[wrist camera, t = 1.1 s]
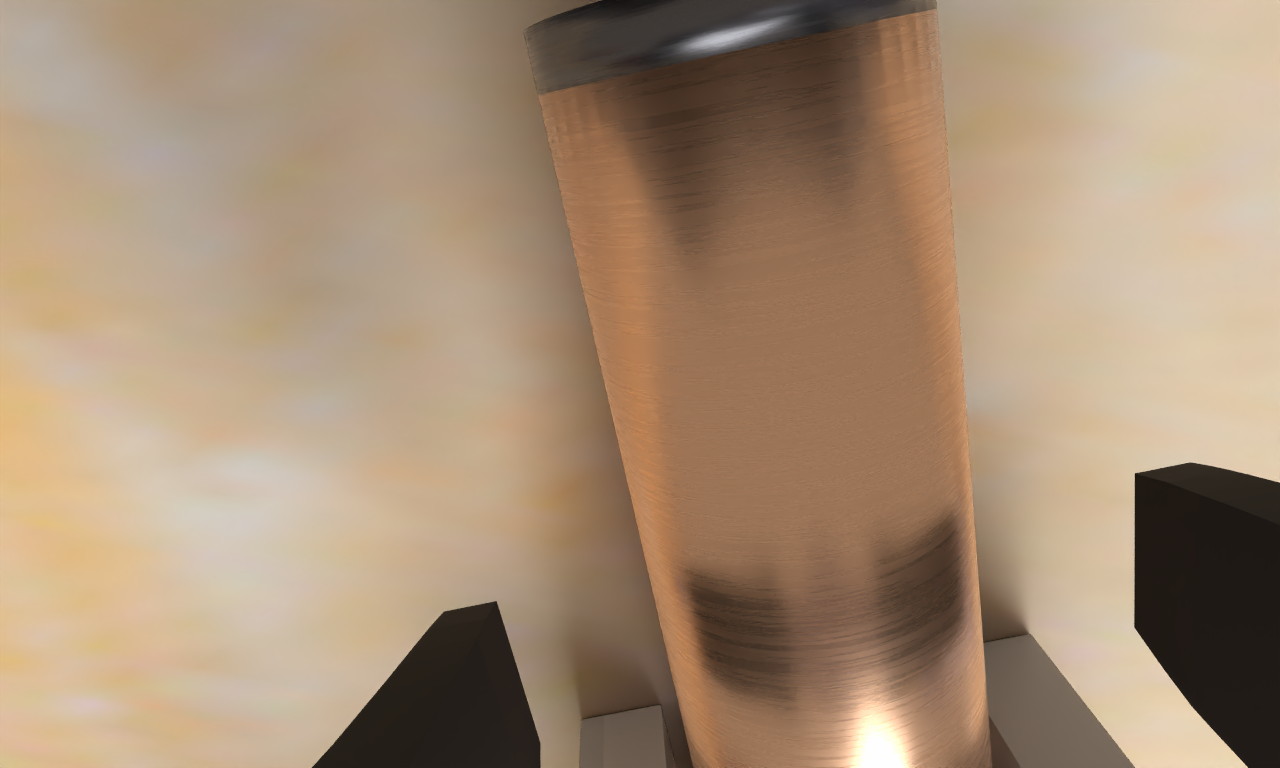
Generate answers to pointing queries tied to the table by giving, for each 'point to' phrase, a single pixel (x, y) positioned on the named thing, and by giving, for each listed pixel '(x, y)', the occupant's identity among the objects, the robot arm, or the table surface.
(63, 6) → the table surface
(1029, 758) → the u-shaped bracket
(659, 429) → the tube
